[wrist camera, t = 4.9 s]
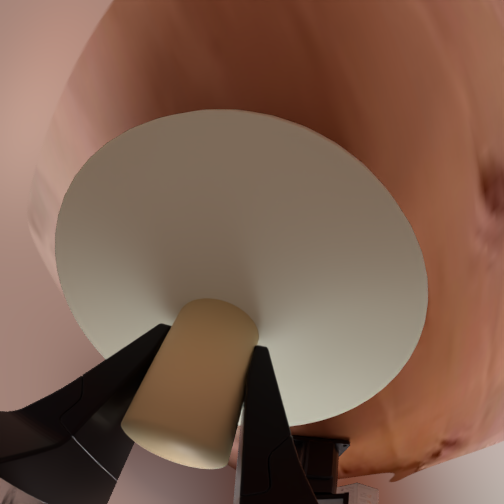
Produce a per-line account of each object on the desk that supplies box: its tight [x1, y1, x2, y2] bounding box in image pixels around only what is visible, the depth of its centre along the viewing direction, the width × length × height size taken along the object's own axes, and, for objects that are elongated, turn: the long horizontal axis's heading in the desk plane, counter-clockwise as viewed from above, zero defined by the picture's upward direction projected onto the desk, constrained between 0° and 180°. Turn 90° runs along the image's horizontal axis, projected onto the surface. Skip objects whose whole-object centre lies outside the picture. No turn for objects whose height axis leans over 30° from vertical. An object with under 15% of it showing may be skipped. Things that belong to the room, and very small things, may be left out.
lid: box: [55, 109, 428, 469], centre depth 9 cm, size 14×14×7 cm
